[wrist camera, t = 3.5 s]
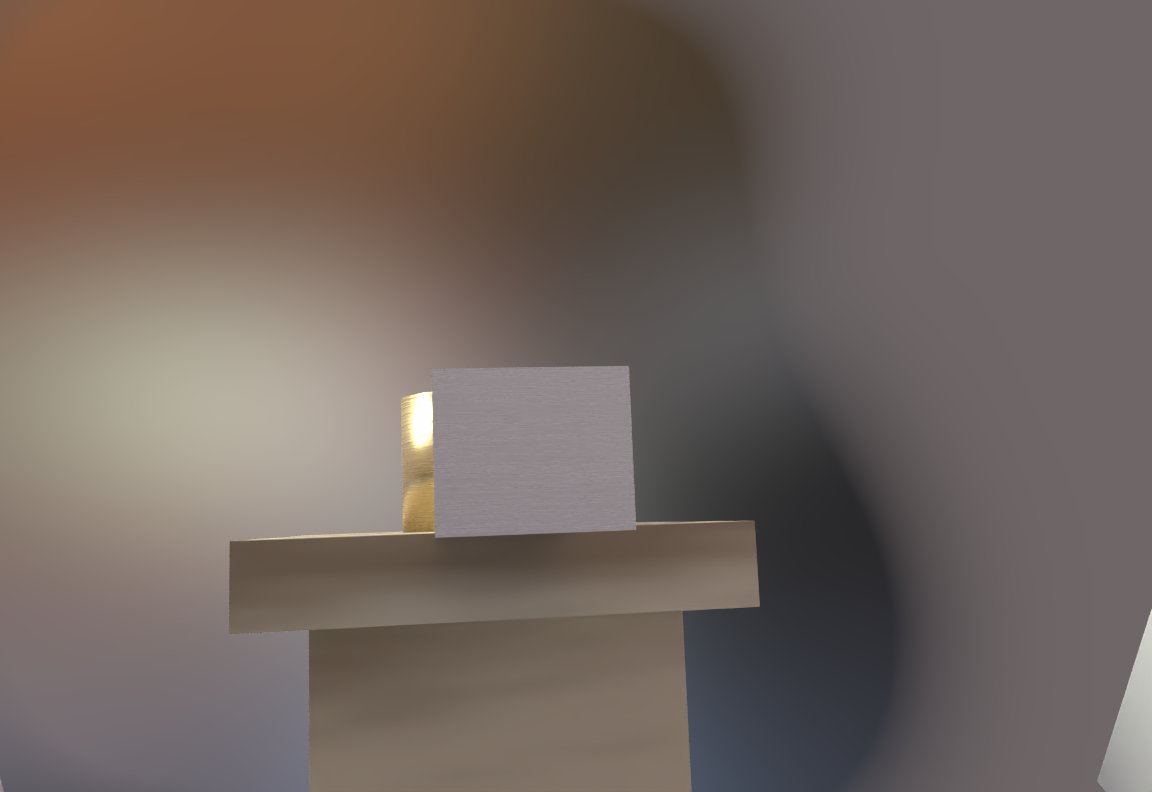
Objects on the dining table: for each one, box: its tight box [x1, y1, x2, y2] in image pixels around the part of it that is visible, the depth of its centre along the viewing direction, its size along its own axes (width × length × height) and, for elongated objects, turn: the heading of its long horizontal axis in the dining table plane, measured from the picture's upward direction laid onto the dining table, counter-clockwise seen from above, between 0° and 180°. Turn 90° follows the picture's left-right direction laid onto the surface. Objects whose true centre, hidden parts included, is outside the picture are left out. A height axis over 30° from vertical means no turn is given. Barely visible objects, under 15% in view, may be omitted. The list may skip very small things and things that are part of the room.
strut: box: [401, 366, 636, 538], centre depth 24 cm, size 18×5×4 cm, turn 8°
